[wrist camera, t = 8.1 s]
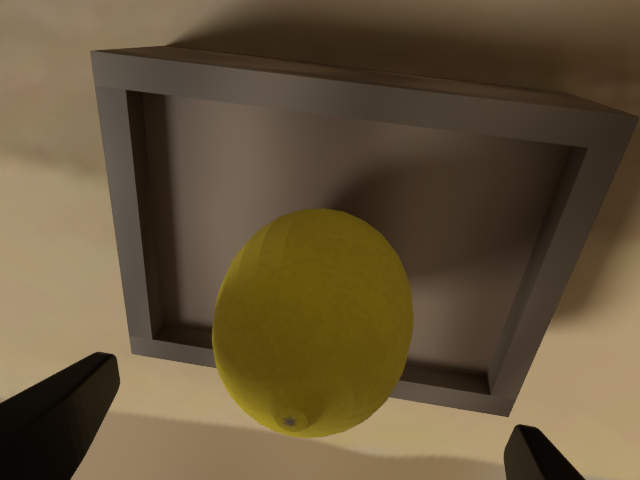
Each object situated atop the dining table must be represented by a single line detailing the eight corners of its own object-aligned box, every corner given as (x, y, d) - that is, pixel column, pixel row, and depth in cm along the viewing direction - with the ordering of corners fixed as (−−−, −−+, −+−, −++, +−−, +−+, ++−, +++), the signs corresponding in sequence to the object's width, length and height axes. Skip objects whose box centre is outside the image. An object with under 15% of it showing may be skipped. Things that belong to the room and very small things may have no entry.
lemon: (343, 143, 14) (309, 259, 7) (433, 262, 16) (482, 458, 8) (227, 230, 16) (108, 390, 9) (318, 329, 18) (278, 531, 10)
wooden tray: (180, 290, 23) (131, 353, 18) (164, 45, 17) (89, 51, 13) (481, 337, 22) (508, 416, 17) (567, 93, 16) (639, 117, 12)
